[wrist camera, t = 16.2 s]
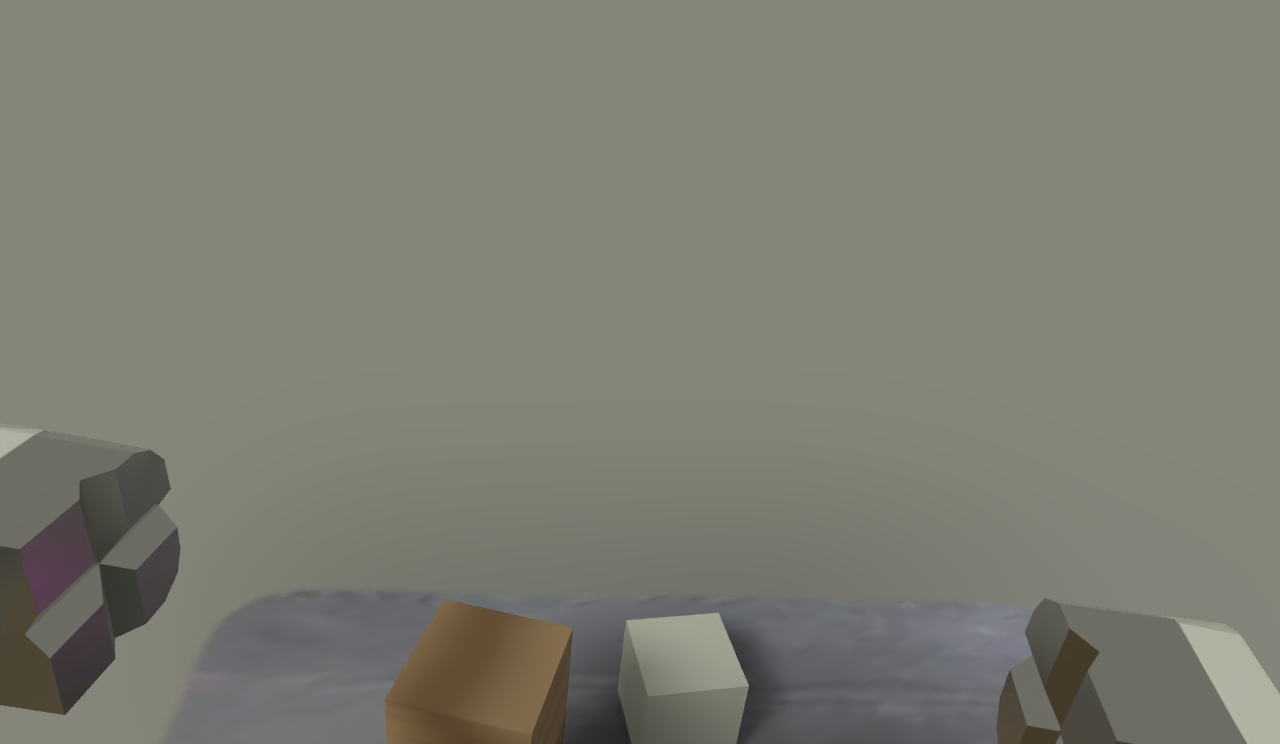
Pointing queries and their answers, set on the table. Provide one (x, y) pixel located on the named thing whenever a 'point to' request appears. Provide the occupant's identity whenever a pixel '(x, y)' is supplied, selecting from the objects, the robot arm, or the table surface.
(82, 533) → the robot arm
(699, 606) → the table surface
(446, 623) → the walnut block
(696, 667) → the grey cube
